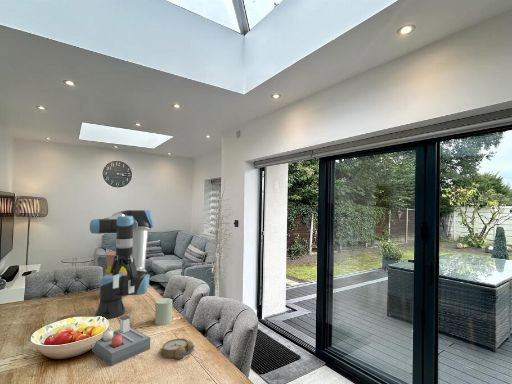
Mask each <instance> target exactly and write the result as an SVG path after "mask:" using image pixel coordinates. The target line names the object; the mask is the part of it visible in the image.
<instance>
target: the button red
mask: <svg viewBox="0 0 512 384" xmlns="http://www.w3.org/2000/svg"><path fill="white" fill-rule="evenodd" d="M121 345H122V335H116V336H113V337H112V344H111V347H112V348H116V347H119V346H121Z"/></svg>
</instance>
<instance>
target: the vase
mask: <svg viewBox="0 0 512 384" xmlns="http://www.w3.org/2000/svg"><path fill="white" fill-rule="evenodd" d="M104 256H105V257H106V258H105V259H106V262H107V263H106V264H107V268H106V270H105V272H104V275H103V277H104V276H106V275H109V274H112V273H110V271H111V268H112V265H113V262H114V256H117V255H116V250H111V251H108V252H104ZM131 256H132V255H130V258H131ZM128 265H129V264H128ZM119 273H122V274H123V276H125V275H127V271H126V268H124V267H123V266H122V267H121V269H120V271H119ZM128 296H129V295H127V296H122V298H125V297H128Z"/></svg>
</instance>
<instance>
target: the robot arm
mask: <svg viewBox="0 0 512 384" xmlns="http://www.w3.org/2000/svg"><path fill="white" fill-rule="evenodd" d="M152 228H154V216H153V211H151V210H146V209H143V210H142V209H141V210H140V209H139V210H138V209H135V210H134V209H133V210H131V209H128V210H122V211H118V212H114V213H113V214H112V215H111V216H108V217H104V218H96V219H95V218H93V219H91V220H90V222H89V232H90V233H91V234H97V235H100V234H116V238H115V239H116V241H115V244H116V245H115V246H116V248H115V251H116V255H117V256H114V262H113V265H112V268H111V271H110V273H112V274H109V275H106V276H104V275H103V276H102V277H101V279H100V285H99V303H98V306H97V310H96V311H95V317H96V316H102V317H105V318H107V319H106V320H110V319H115V318H118V317H122V316H123V315H124V314H125V313H126V312H125V310H126V309H125V305H124V302H123V297H122V296H125V297H128V296H139V295H145V294H146V293H147V291H148V288H149V284H150V278H151V277H150V276H151V275H150V274H148V271H147V270H146V263H147V262H146V260H147V249H148V248H147V247H148V236H149V232H150V231H151V230H152ZM130 255H132V256H131V258H130ZM128 264H129V265H128ZM122 266H123V267H124V268H126V271H127V275H125V276H123V274H122V273H119V271H120V269H121V267H122ZM127 295H128V296H127Z"/></svg>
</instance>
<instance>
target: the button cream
mask: <svg viewBox="0 0 512 384" xmlns="http://www.w3.org/2000/svg"><path fill="white" fill-rule="evenodd" d="M113 332H114V330H113V329H107V330H105V331H103V332H102V335H103V342H108V341H111V340H112V337H113Z"/></svg>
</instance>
